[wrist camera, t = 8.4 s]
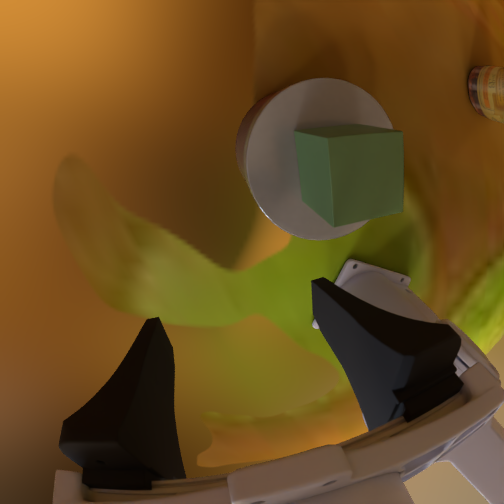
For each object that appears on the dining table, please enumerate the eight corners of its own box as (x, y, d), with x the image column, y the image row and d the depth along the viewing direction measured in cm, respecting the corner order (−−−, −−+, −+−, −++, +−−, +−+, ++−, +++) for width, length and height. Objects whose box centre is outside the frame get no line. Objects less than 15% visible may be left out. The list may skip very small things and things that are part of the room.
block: (359, 123, 15) (403, 131, 11) (362, 189, 16) (403, 212, 13) (293, 130, 14) (326, 137, 11) (301, 201, 16) (333, 228, 13)
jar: (368, 118, 20) (417, 125, 15) (324, 223, 24) (360, 256, 19) (259, 65, 17) (285, 48, 12) (212, 187, 21) (221, 215, 16)
